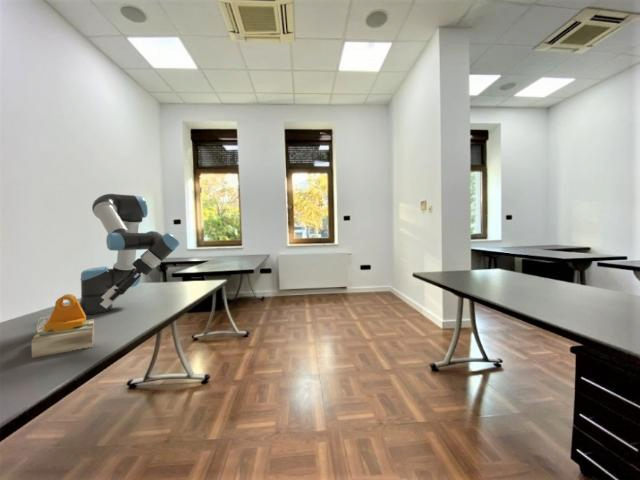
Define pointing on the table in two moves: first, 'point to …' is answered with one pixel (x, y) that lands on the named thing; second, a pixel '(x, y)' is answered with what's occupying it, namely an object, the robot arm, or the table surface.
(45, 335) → the riser stand
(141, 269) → the robot arm
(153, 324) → the table surface
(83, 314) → the bracket
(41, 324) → the white bone skull
